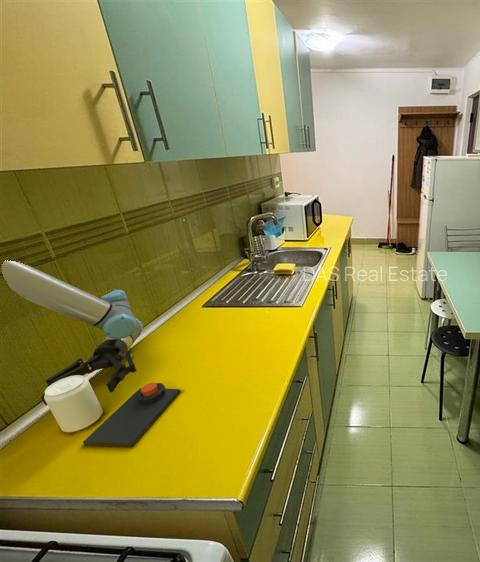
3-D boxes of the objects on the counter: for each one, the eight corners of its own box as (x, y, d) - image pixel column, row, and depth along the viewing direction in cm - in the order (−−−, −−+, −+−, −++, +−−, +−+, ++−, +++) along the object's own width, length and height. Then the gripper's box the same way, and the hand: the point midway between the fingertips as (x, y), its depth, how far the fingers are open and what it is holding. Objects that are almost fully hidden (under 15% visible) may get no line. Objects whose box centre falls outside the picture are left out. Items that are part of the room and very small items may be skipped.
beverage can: (96, 404, 84) (79, 370, 80) (109, 416, 81) (92, 380, 76) (57, 425, 78) (36, 389, 73) (69, 439, 74) (47, 401, 69)
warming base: (132, 446, 72) (128, 437, 71) (84, 445, 73) (79, 436, 71) (181, 391, 89) (178, 383, 88) (141, 390, 89) (138, 382, 88)
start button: (152, 396, 83) (150, 391, 83) (139, 396, 83) (137, 391, 83) (161, 387, 87) (159, 382, 86) (149, 387, 87) (147, 382, 86)
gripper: (161, 350, 102) (139, 393, 84) (70, 366, 95) (23, 418, 76) (155, 331, 99) (130, 372, 81) (60, 346, 92) (8, 395, 73)
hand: (78, 394), depth 79 cm, fingers open, 13 cm apart
